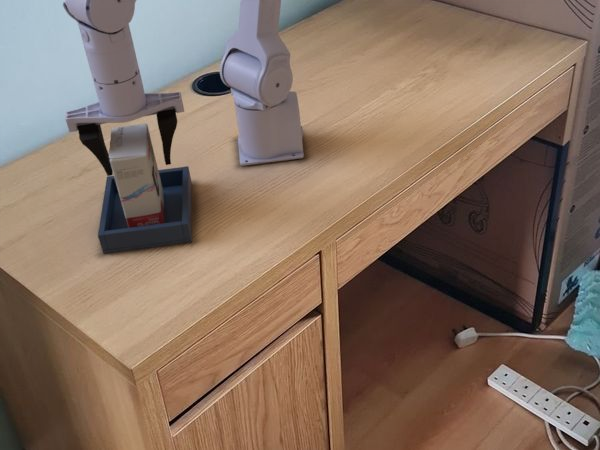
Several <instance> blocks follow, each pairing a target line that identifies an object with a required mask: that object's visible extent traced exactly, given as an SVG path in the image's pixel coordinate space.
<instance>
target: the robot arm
mask: <svg viewBox="0 0 600 450" xmlns="http://www.w3.org/2000/svg"><path fill="white" fill-rule="evenodd" d="M239 1H240V2H239V3H240V4H239V16H238V29H237V30H236V32H234V33H233V34H231V35H230V36H229V37H228V38H227V39H226V47H225V52H224V54H223V56H222V59H221V62H220V65H219V76H220V80H221V81H222V83H223V84H224V86H226V87H228V88H230V94H231V96H232V97H233V101H234V102H233V103H234V109H235V110H234V111H235V116H236V122H237V129H238V137H237V144H238V146H237V147H238V157H239V164H240V166H242V167H243V166H250V165H251V166H252V165H261V164H267V163H274V162H275V163H276V162H283V161H284V162H285V161H290V160H298V159H304V158H305V154H304V147H303V146H304V143H303V138H304V130H303V126H302V124H301V123H302V122H301V114H300V113H301V112H300V105H299V100H298V94H297V92H296V91H291V89H292V86H293V81H294V79H293V78H294V75H293V72H292V68H291V52H290V50H289V48H288V47H287V46H286V44H285V42H284V41H283V39H282V38H281V36H280V34H279V28H280V27H279V26H280V17H281V5H282V0H239ZM136 2H137V0H65V1H64V2H63V3H62V7H63V9H64V11H65V12H66V14H67V15H68V16H69V18H71V19H73V20H74V21H75V22H76V23H77V25H78V29H79V34H80V37H81V40H82V45H83V48H84V52H85V56H86V60H87V63H88V67H89V70H90V75H91V78H92V82H93V85H94V90H95V93H96V96H97V102H95V103H91V104H89V105H86V106H82V107H79V108H77V109H73V110H68V111H65V123H66V126H67V129H68V132H69V133H74V132H78V138H79V141H80V143H81V144H82V145H83V146H84V147H86V148H87V149H88V150H89V151H90V152H91V153H92V155H94V157H95V158H96V159H97V160H98V162H99V163H100V165H101V166H102V168H103V170H104V171H105V173H106V175H107V176H106V177H108V176H114V174H113V171H112V167H111V164H110V158H109V151H108V149H107V146H106V142H105V138H104V134H103V131H102V126H101V125H105V124H121V123H122V124H123V123H128V122H132V121H135V120H138V119H141V118H144V117H150V116H155V115H156V121H157V126H158V131H159V134H160V140H161V144H162V145H161V146H162V152H163V159H164V163H165V166H169V165H172V160H171V152H172V151H171V150H172V145H173V144H172V143H173V139H174V135H175V132H176V129H177V127H178V116H177V114H180V113H184V112H185V107H184V102H183V97H182V92H181V91H176V92H157V93H155V92H153V93H152V92H151V93H149V92H148V93H147V92H145V89H144V83H143V79H142V75H141V72H140V67H139V62H138V58H137V53H136V49H135V44H134V40H133V36H132V32H131V28H130V23H131V22H132V20H133V17H134V15H135V8H136Z"/></svg>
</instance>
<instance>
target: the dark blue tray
mask: <svg viewBox="0 0 600 450" xmlns="http://www.w3.org/2000/svg"><path fill="white" fill-rule="evenodd" d="M158 171H159V175H160V179H161V184H162V188H163V192H164V219H165V223H163V224H155V225H148V226H140V227H132V228H128V225H127V222H126V218H125V214H124V210H123V207H122V203H121V200H120V196H119V193H118V189H117V185H116V181H115V178H114V175H111V176H106V181H105V186H104V193H103V198H102V199H103V200H102V205H101V211H100V217H99V218H100V219H99V225H98V231H97V239H98V240H99V245H100V248H101V250H102V254H104V255H105V254H111V253H119V252H127V251H135V250H142V249H149V248H151V249H152V248H159V247H166V246H174V245H182V244H187V243H192V242H193V182H192V177H191V172H190V167H189V166H181V167H180V166H179V167H172V168H165V169H158Z"/></svg>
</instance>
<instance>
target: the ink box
mask: <svg viewBox="0 0 600 450" xmlns="http://www.w3.org/2000/svg"><path fill="white" fill-rule="evenodd" d="M109 140H110V141H109V148H108V149H109V151H108V154H109V158H110V164H111V167H112V171H113V176H114V178H115V181H116V185H117V189H118V193H119V196H120V200H121V203H122V207H123V210H124V214H125V218H126V222H127V225H128V228H132V227H140V226H148V225H155V224H163V223H165V219H164V192H163V188H162V184H161V179H160V175H159V171H158V170H159V168H158V162H157V160H156V154H155V150H154V147H153V142H152V139H151V134H150V129H149V125H148V123H140V124H133V125H124V126H116V127H112V128H111V129H110V139H109Z"/></svg>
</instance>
